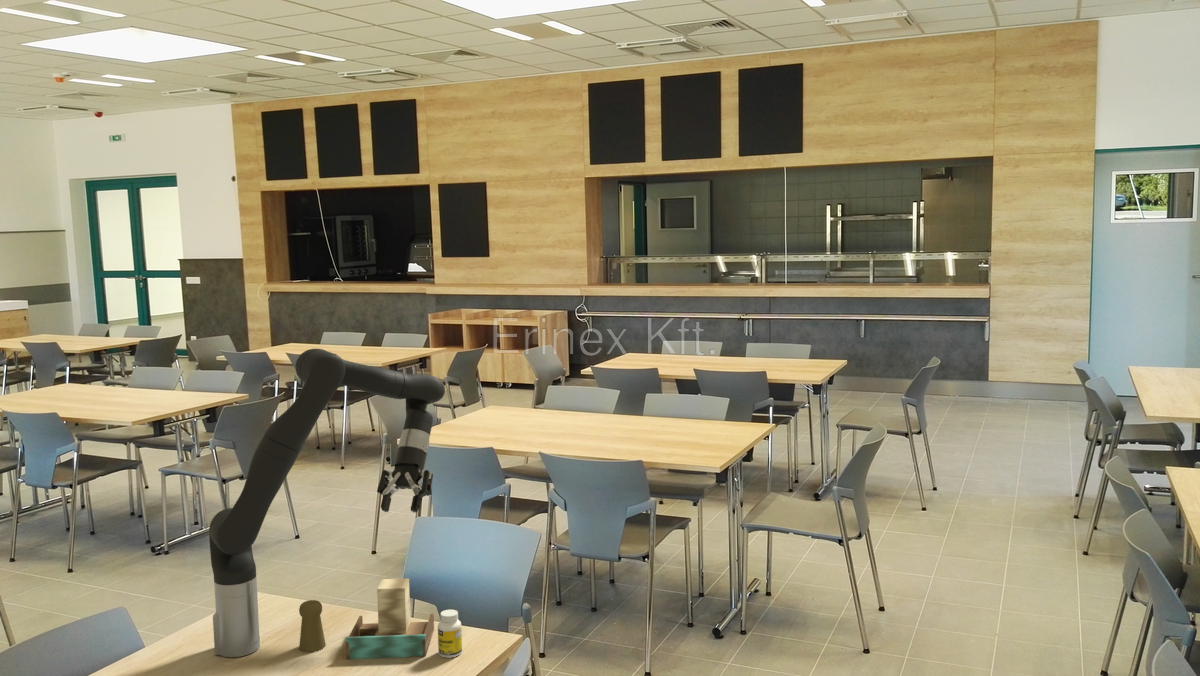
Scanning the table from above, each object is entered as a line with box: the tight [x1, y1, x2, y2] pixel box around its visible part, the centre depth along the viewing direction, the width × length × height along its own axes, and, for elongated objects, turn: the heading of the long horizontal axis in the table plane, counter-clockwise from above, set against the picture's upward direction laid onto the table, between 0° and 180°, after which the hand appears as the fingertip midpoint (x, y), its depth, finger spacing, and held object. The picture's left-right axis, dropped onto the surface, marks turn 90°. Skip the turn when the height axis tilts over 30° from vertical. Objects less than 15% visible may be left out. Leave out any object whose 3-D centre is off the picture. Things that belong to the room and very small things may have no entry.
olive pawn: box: [298, 599, 327, 653], centre depth 221 cm, size 6×6×11 cm
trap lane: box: [345, 613, 435, 660], centre depth 222 cm, size 18×15×5 cm
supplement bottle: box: [437, 609, 463, 659], centre depth 216 cm, size 5×5×10 cm
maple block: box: [376, 578, 411, 634], centre depth 226 cm, size 6×6×11 cm
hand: (399, 511), depth 233 cm, fingers open, 8 cm apart
